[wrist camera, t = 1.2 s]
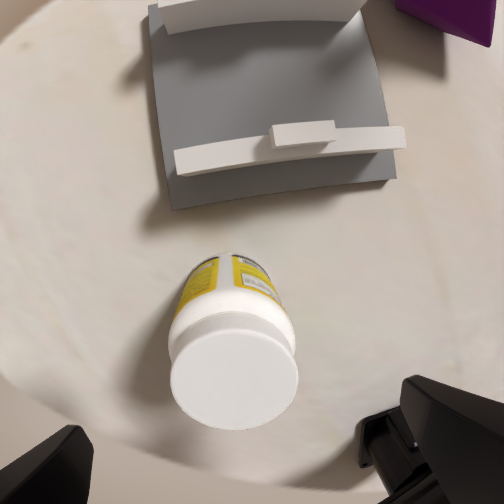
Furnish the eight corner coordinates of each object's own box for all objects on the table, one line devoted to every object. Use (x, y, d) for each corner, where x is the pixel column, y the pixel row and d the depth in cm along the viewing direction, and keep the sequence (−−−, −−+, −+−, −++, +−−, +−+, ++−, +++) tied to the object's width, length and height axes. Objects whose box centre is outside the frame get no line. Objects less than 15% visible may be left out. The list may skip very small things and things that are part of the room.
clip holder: (389, 178, 16) (440, 179, 12) (174, 209, 16) (154, 219, 11) (349, -2, 14) (379, -42, 9) (150, 12, 13) (131, -33, 8)
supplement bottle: (189, 334, 17) (168, 439, 9) (181, 253, 16) (141, 319, 8) (273, 330, 18) (306, 432, 9) (272, 249, 17) (315, 311, 8)
